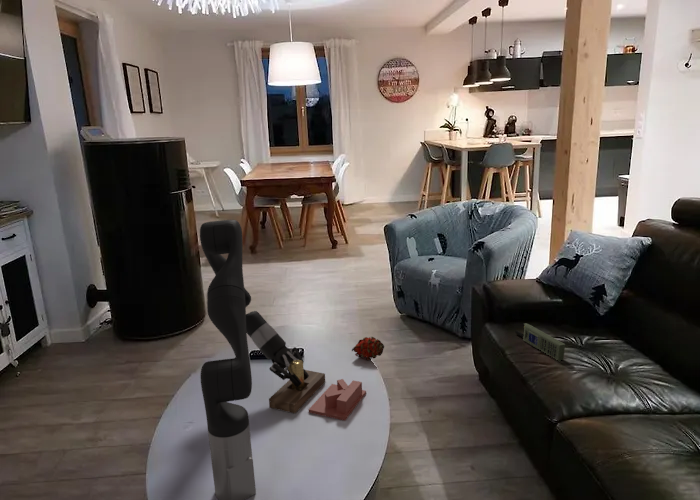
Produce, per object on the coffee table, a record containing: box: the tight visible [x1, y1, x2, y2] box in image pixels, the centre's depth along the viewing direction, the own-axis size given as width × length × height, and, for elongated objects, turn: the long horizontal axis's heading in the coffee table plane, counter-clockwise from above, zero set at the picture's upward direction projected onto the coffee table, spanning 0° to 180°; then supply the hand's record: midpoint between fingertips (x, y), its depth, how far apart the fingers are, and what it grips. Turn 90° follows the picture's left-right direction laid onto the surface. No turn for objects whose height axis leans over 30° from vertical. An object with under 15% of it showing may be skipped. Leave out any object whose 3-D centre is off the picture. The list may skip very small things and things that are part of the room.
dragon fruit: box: [351, 336, 385, 361], centre depth 181 cm, size 8×8×12 cm
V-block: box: [308, 378, 367, 422], centre depth 153 cm, size 12×16×5 cm
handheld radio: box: [515, 323, 566, 362], centre depth 186 cm, size 7×3×25 cm
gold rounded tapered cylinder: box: [290, 359, 305, 391], centre depth 158 cm, size 4×4×11 cm
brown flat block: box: [268, 369, 326, 414], centre depth 159 cm, size 9×20×3 cm, turn 156°
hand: (303, 381), depth 157 cm, fingers closed on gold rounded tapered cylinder, 4 cm apart
